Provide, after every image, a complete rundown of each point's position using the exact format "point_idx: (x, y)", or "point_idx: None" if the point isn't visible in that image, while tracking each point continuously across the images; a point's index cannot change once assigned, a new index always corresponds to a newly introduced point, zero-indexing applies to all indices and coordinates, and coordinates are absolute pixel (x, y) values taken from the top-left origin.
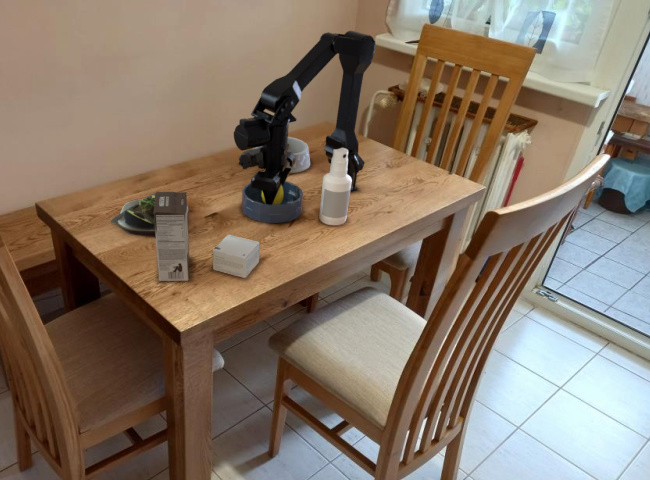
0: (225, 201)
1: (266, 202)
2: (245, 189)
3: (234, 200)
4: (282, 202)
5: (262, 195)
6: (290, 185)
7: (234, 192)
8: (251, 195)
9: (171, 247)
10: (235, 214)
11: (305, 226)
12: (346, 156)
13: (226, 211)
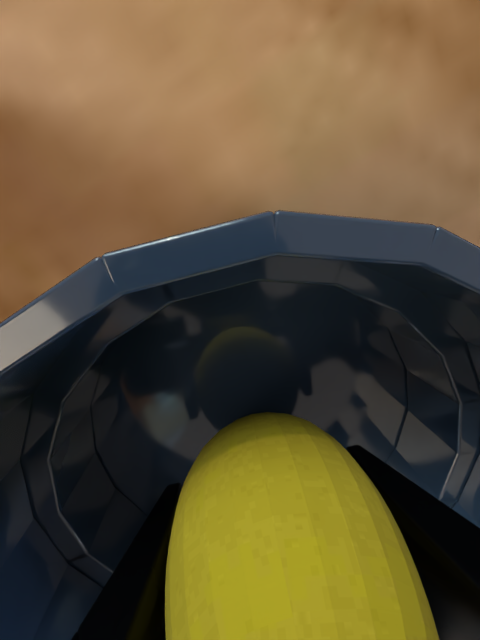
0: (192, 31)
1: (145, 527)
2: (189, 276)
3: (257, 113)
4: (365, 437)
5: (195, 499)
6: None
7: (410, 16)
8: (296, 282)
9: None
10: (42, 259)
11: None
12: None
13: (28, 159)
